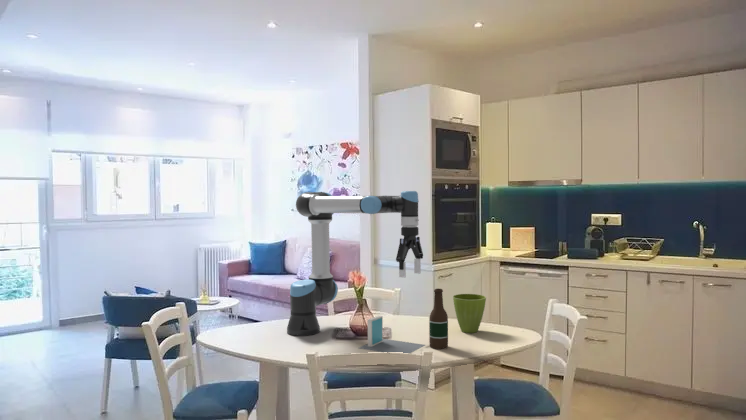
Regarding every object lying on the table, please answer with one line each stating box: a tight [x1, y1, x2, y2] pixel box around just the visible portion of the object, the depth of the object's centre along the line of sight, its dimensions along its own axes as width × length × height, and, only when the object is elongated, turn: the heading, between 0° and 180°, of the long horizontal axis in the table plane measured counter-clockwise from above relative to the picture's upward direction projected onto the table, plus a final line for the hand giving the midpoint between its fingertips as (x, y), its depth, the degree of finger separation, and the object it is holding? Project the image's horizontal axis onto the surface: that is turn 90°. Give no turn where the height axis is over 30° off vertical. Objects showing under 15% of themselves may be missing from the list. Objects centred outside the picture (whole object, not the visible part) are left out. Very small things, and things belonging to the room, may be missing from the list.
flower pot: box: [452, 293, 487, 334], centre depth 254 cm, size 15×15×16 cm
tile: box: [367, 315, 384, 347], centre depth 231 cm, size 2×9×11 cm, turn 148°
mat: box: [358, 338, 426, 354], centre depth 227 cm, size 22×18×1 cm
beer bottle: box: [428, 288, 449, 350], centre depth 228 cm, size 8×8×24 cm
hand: (410, 275), depth 240 cm, fingers open, 13 cm apart
